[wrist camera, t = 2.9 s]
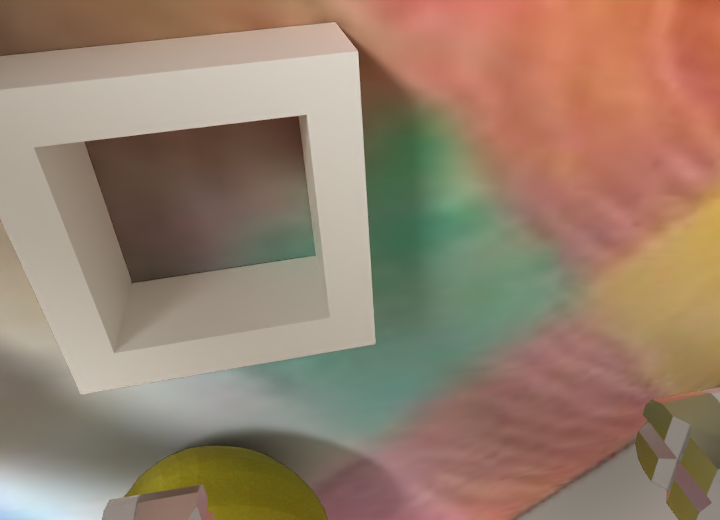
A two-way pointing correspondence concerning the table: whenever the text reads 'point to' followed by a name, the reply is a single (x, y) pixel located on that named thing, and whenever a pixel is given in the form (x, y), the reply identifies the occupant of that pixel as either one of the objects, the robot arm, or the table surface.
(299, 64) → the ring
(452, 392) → the table surface
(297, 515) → the lemon
